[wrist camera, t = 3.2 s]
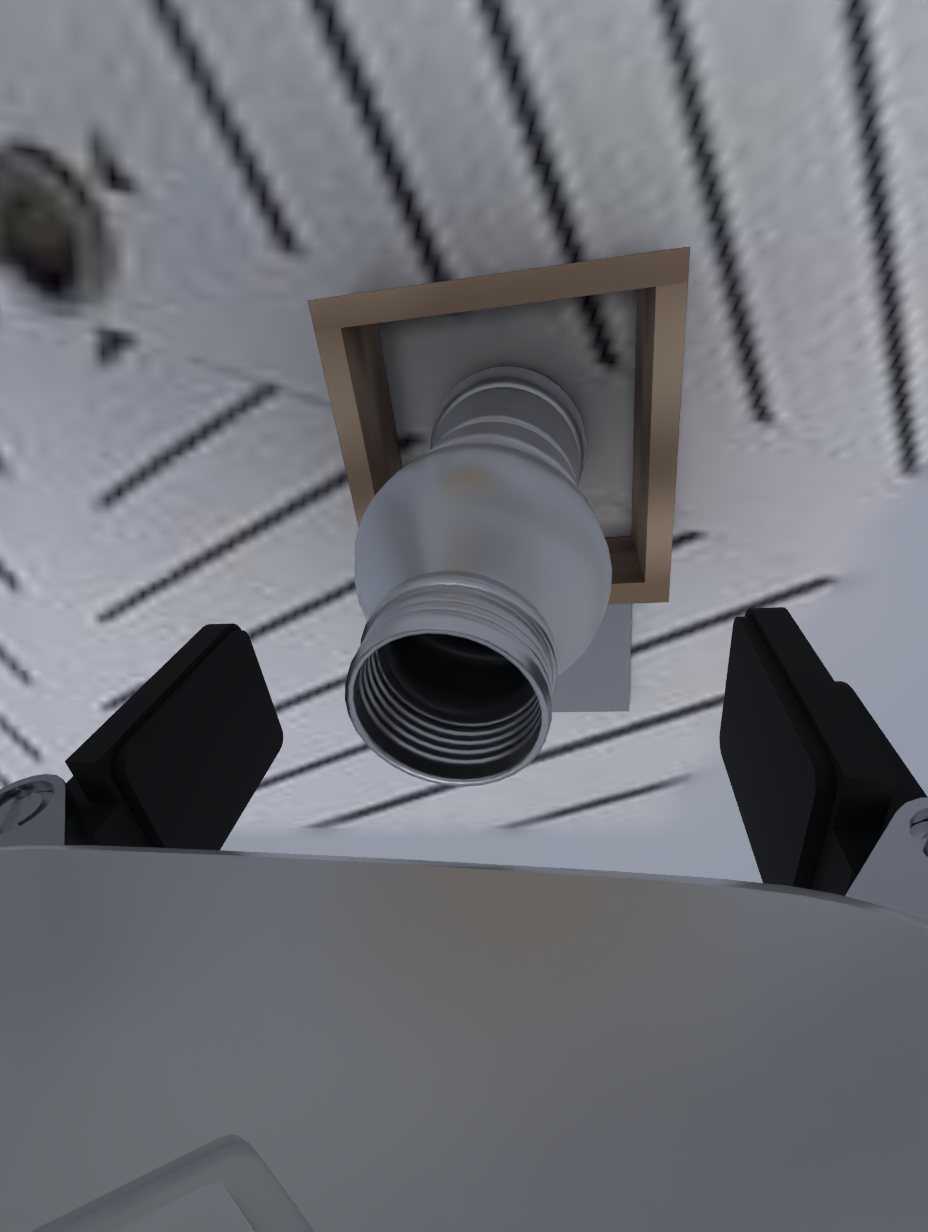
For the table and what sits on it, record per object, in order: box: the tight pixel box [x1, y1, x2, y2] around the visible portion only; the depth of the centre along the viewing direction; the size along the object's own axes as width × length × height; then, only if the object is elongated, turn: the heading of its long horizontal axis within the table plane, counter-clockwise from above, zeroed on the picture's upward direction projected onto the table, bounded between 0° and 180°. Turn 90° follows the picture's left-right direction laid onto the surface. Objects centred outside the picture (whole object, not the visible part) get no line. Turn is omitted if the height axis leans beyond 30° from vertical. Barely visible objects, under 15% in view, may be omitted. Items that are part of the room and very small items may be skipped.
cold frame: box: [308, 247, 690, 605], centre depth 25 cm, size 13×13×5 cm
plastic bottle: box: [345, 366, 612, 786], centre depth 19 cm, size 6×7×20 cm
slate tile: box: [552, 604, 632, 712], centre depth 33 cm, size 8×11×1 cm
